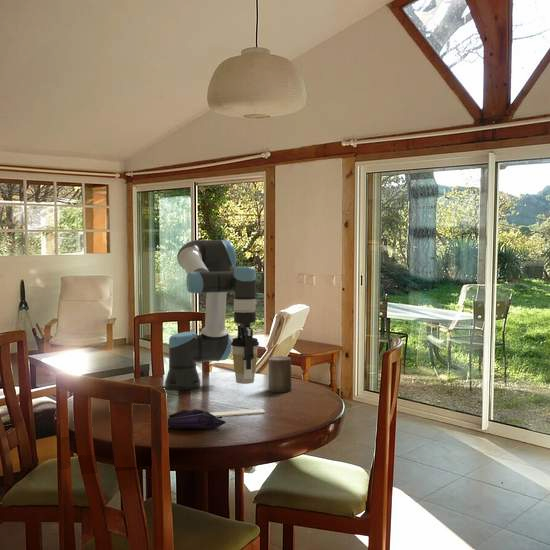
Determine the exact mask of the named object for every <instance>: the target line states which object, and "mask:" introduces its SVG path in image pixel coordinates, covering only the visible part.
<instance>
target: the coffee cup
mask: <svg viewBox="0 0 550 550" xmlns="http://www.w3.org/2000/svg"><path fill="white" fill-rule="evenodd" d="M231 345H232V346H231V350H232V361H233V367H234V368H233V369H234V375H235V383H237V384H242V385H248V384H249V385H250V384H254V382H255V374H256V371H257V370H256V369H257V362H258V361H257V360H258V348H259V346H260V342H259V341H258V338H257V337H253V354H254V358H253V359H252V379H244V360H243V358H245V356H244V347H245V341H243V340H241V339H239V338H237V337H235V338H232V341H231Z"/></svg>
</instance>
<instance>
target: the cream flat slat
mask: <svg viewBox="0 0 550 550" xmlns="http://www.w3.org/2000/svg"><path fill="white" fill-rule="evenodd" d="M210 413H211V414H212V415H214V416H216V418H217V417H220V416H223V417H234V415H237V416H247V415H248V414H249V415H250V414H251V415H259V414H260V415H264V414H263V413H265V414H266V411H265V410H264V409H263V408H260V409H246V410H245V409H244V410H231V411H217V412H210Z"/></svg>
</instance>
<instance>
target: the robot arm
mask: <svg viewBox="0 0 550 550" xmlns="http://www.w3.org/2000/svg"><path fill="white" fill-rule="evenodd" d="M177 263H178V264H179V266H180V268H182V269H184V270H185V272H186V274H187V275H186V280H185V281H186V290H187V292H189V293H191V294H206V296H205V297H206V298H205V317H204V320H205V321H204V322H205V323H204V327H203V328H202V329H201V332H200V334H197V333H196V332H195V331H184V332H183V331H182V332H178V333H174V334H172V335H171V336H170V337H169V339H168V347H167V348H168V372H167V375H166V377H165V381H164V388H166V389H167V390H172V391H189V390H195V389H198V388H200V387H201V379H200V376H199V373H198V370H197V363H200V362H220V361H225V360H227V359H228V358H229V357H230V355H231V351H232V345H231V343H232V341H233V338H232V336H231V334H230V333H229V330H228V329H226V327H225V325H226V313H227V312H226V311H227V310H226V309H227V293H233V294H234V295H233V310H234V312H233V322H234V323H236V324H239V325H237V337H236V338H239V339H241V340H243V341H245V347H244V356H245V358H243V360H244V379H252V359H253V358H254V354H253V338H254V337H253V336H254V334H253V333H254V330H253V329H252V327H251V324H255V323H256V321H257V320H256V319H257V313H256V305H258V301H257V299H256V297H257V296H256V295H257V293H256V291H257V289H256V284H257V283H256V281H257V274H256V273H257V272H256V268H255V267H254V266H237V265H236V264H237V255H236V250H235V245H234V244H233V242H232V241H231V240H224V239H205V240H204V239H196V240H195V239H194V240H191V241H188V242H187V243H185V244H183V246H181V247H180V248H179V250H178V252H177ZM232 269H233V270H232Z"/></svg>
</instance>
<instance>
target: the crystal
mask: <svg viewBox="0 0 550 550" xmlns="http://www.w3.org/2000/svg"><path fill="white" fill-rule="evenodd" d="M211 413H212V412H209V411H207V410H201V409H196V408H195V409H191V410H187V409H182V410H180V411H177V412H175V413H172V414H168V418H167V419H168V426H169V428H168V429H185V428H196V430H197V428H198V429H199V430H214V429H217V428H218V427H220V426H222V425H225V424H226V421H225V420H223V417H222V416H220V417H216V416H214V415H212V414H211ZM168 426H167V427H168Z"/></svg>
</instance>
